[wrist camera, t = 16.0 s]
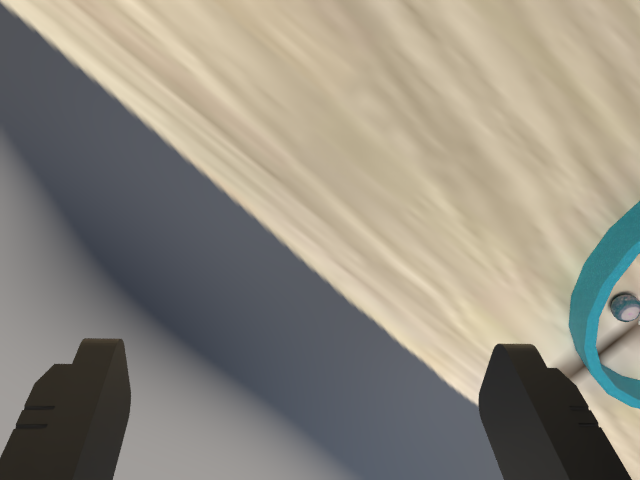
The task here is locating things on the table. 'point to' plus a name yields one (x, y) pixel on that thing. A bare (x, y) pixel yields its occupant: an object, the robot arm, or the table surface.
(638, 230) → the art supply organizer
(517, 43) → the table surface
